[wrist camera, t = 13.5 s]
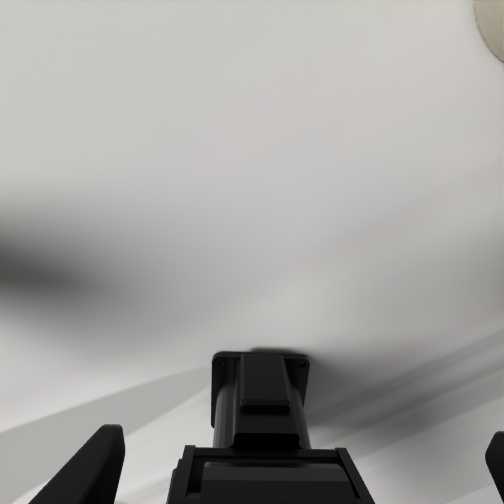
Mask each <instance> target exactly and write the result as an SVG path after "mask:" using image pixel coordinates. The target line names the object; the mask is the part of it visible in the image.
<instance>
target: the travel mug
mask: <svg viewBox="0 0 504 504" xmlns="http://www.w3.org/2000/svg"><path fill="white" fill-rule="evenodd" d="M473 2H474V12H475V17H476V22H477V25H478V28H479V31H480V33H481V36H482V38H483V39H484V41H485V43H486V45H487V46H488V47H489V49H490V50H491V51H492V52H493V53H494V54H495V55H496V56H497V57H498V58H499V59H500V60H502V61H503V62H504V0H473Z"/></svg>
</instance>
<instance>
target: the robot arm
mask: <svg viewBox="0 0 504 504" xmlns="http://www.w3.org/2000/svg"><path fill="white" fill-rule="evenodd" d="M217 360H222V362H218V361H217ZM300 362H304V363H303V364H299V363H300ZM309 366H310V363H309V359H308V358H307V356H305V355H287V354H251V353H216V354H215V355H214V356H213V358H212V392H211V426H212V427H213V428H214V439H213V448H207V447H196V445H185V449H184V453H183V457H182V459H179V461H178V465H177V468H175V469H174V470H173V473H172V478H171V483H170V489H169V493H168V498H167V502H166V504H375V502H374V500H373V499H372V497H371V495H370V493H369V491H368V489H367V487H366V485H365V483H364V481H363V480H362V478H361V476H360V474H359V472H358V470H357V468H356V466H355V464H354V463H353V461H352V459H351V457H350V455H349V453H348V451H347V449H346V448H335V450H333V449H311V445H310V440H309V435H308V430H307V425H306V420H305V416H304V411H303V407H304V400H305V393H306V386H307V380H308V373H309ZM124 457H125V443H124V436H123V429H122V426H121V425H115V424H112V425H111V424H106V425H103V426H101V427H100V428H99V429H98V430H97V432H95V434H94V435H93V436H92V437H91V438H90V439H89V440H88V441H87V442H86V443H85V444H84V445H83V447H81V448H80V449H79V450H78V452H77V453H76V454H75V455H74V456H73V457H72V458H71V459H70V460H69V461H68V462H67V463H66V464H65V465H64V466H63V467H62V469H60V471H59V472H58V473H57V474H56V475H55V476H54V477H53V478H52V479H51V480H50V481H49V482H48V483H47V484H46V485H45V486H44V487H43V489H42V490H41V491H40V492H39V493H38V494H37V495H36V496H35V497H34V498H33V499H32V500H31V501H30V502H29V503H28V504H114V501H115V497H116V492H117V488H118V484H119V479H120V475H121V471H122V466H123V462H124ZM485 460H486V464H487V466H488V468H489V471H490V473H491V475H492V478H493V480H494V482H495V485H496V487H497V489H498V492H499V494H500V496H501V499H502V501H503V503H504V431H498V432H496V433H495V434H494V436H493V438H492V440H491V442H490V444H489V446H488V448H487V450H486V453H485Z"/></svg>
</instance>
